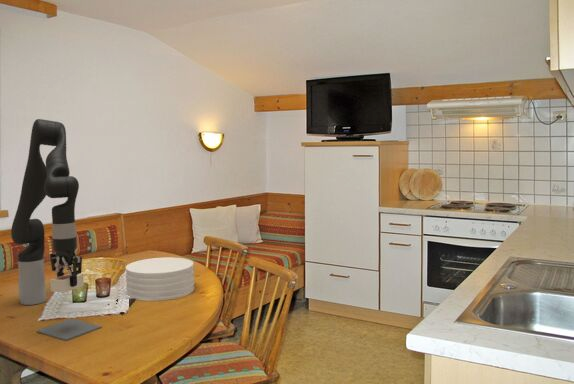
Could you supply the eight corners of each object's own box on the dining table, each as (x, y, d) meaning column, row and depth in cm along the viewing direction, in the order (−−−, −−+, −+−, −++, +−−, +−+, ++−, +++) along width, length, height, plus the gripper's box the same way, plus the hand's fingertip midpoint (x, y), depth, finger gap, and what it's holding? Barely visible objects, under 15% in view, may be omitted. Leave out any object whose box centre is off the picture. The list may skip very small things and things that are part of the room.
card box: (71, 284, 187) (70, 272, 187) (83, 285, 185) (82, 274, 185) (51, 291, 179) (50, 279, 178) (63, 292, 177) (63, 280, 176)
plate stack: (115, 290, 230) (114, 264, 229) (173, 278, 249) (172, 254, 247) (145, 305, 209) (144, 277, 208) (206, 291, 228) (206, 265, 227)
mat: (36, 331, 182) (36, 330, 182) (71, 319, 193) (71, 318, 193) (66, 340, 173) (66, 339, 173) (101, 327, 185) (101, 326, 185)
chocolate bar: (135, 298, 216) (122, 313, 198) (135, 300, 216) (123, 315, 199) (113, 299, 216) (98, 313, 198) (113, 301, 216) (98, 316, 198)
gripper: (88, 236, 180) (90, 285, 181) (60, 232, 187) (63, 279, 189) (68, 239, 173) (71, 290, 175) (41, 236, 181) (44, 284, 182)
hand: (67, 284), depth 182 cm, fingers closed on card box, 6 cm apart
